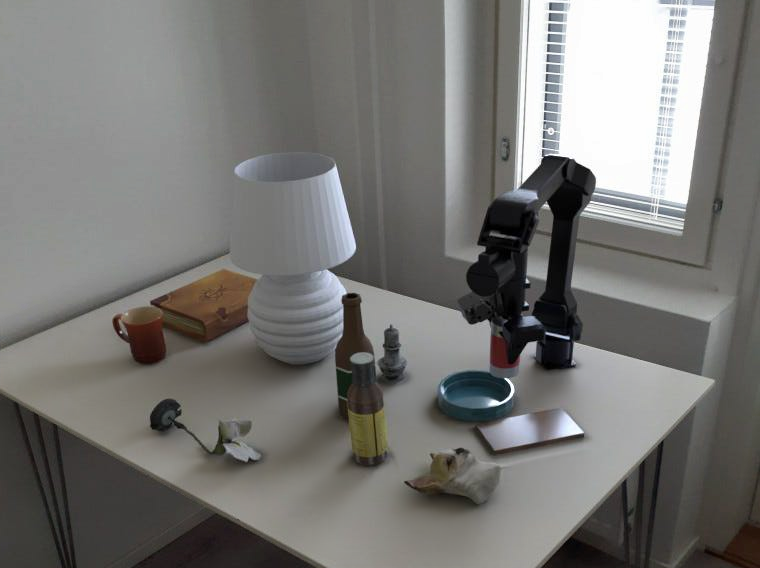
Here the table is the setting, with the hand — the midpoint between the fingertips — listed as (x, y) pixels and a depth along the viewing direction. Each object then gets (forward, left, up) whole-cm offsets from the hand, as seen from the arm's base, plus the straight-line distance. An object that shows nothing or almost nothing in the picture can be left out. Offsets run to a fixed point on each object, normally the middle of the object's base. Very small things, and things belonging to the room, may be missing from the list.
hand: (505, 356), depth 152 cm
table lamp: (+29, -38, -13) cm, 50 cm away
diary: (+44, -63, -13) cm, 79 cm away
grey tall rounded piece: (+14, -21, -13) cm, 29 cm away
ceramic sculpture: (+15, +18, -13) cm, 27 cm away
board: (-3, +6, -13) cm, 15 cm away
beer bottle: (+24, -11, -13) cm, 30 cm away
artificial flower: (+53, -9, -13) cm, 55 cm away
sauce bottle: (+26, +4, -13) cm, 30 cm away
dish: (+2, -7, -13) cm, 15 cm away
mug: (+62, -48, -13) cm, 80 cm away
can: (0, 0, -3) cm, 3 cm away
